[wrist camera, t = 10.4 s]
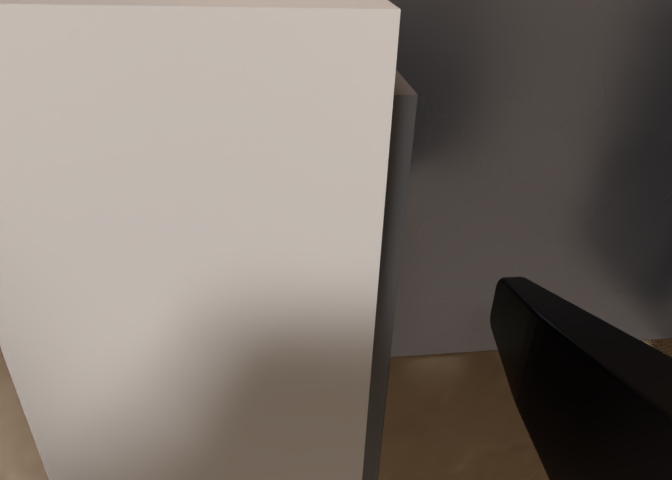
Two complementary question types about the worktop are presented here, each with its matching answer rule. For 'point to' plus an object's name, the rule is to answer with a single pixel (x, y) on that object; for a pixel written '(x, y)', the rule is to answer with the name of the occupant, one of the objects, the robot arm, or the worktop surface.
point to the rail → (535, 164)
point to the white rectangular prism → (202, 233)
